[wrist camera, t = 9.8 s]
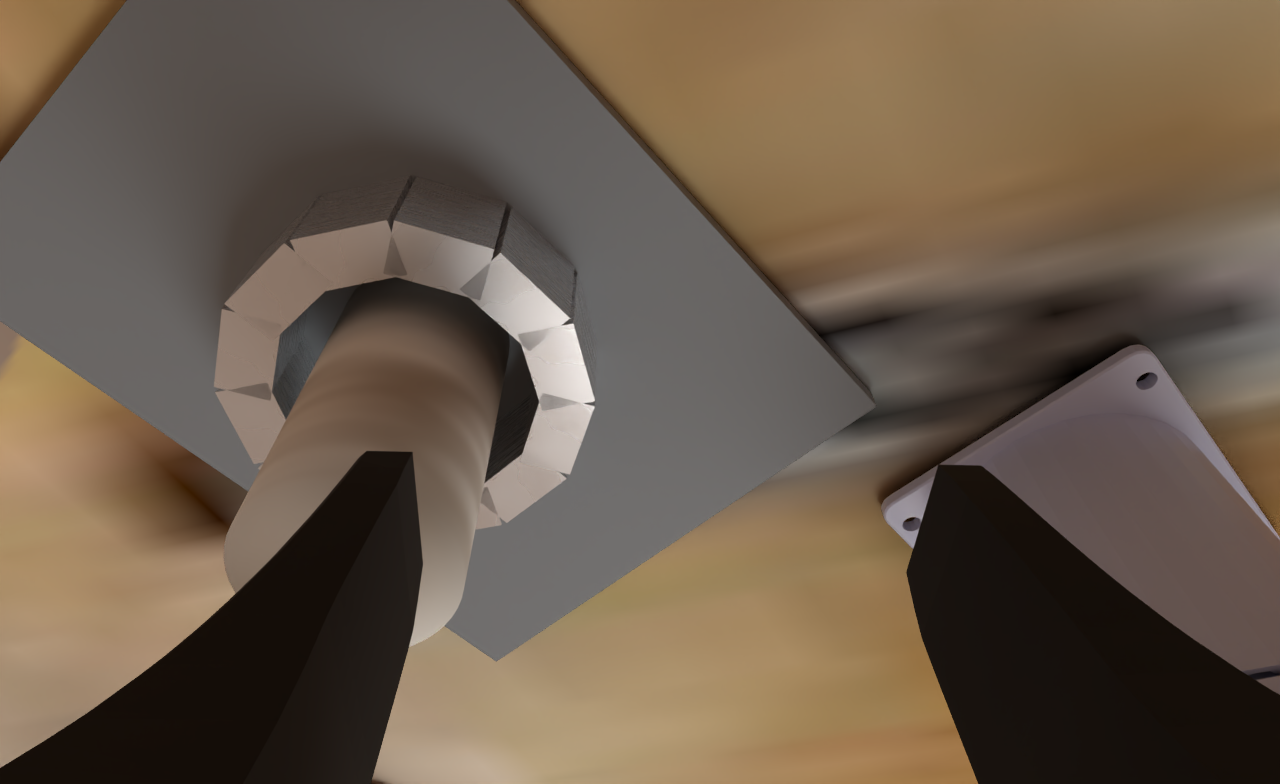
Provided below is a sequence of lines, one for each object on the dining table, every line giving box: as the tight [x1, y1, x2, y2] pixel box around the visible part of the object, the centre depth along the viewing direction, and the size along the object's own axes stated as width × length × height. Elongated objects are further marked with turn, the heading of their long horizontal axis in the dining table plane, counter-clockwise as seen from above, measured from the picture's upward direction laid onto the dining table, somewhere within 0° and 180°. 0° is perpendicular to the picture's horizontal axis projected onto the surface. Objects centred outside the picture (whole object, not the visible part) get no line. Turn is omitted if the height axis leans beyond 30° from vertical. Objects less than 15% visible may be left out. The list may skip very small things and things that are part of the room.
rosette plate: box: [0, 0, 877, 661], centre depth 23 cm, size 18×14×1 cm
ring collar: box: [214, 175, 597, 530], centre depth 22 cm, size 8×8×2 cm
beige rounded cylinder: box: [224, 277, 510, 647], centre depth 19 cm, size 4×4×8 cm
